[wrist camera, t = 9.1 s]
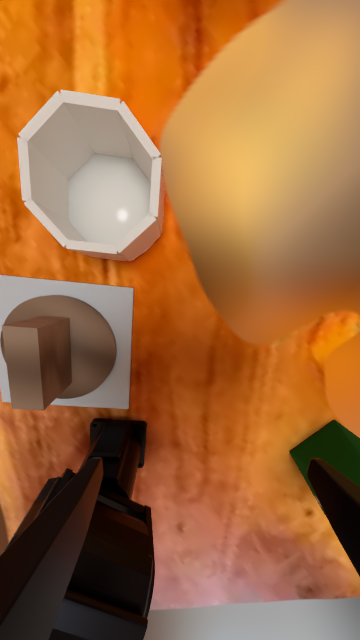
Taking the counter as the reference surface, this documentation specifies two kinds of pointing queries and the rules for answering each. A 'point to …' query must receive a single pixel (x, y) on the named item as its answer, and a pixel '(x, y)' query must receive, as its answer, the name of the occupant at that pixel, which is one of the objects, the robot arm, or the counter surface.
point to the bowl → (92, 176)
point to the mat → (109, 301)
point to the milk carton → (330, 452)
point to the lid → (55, 350)
